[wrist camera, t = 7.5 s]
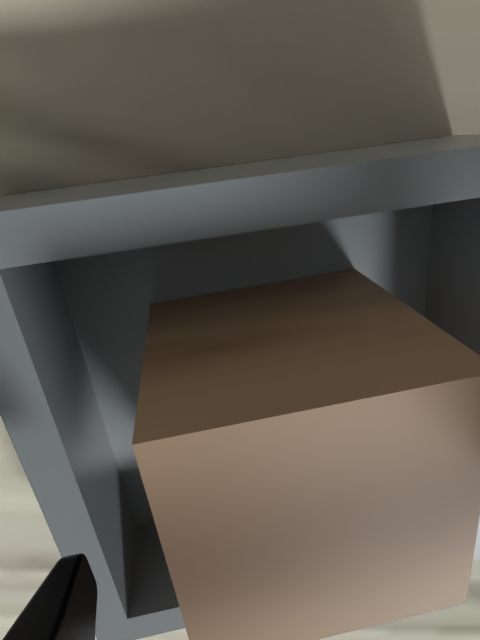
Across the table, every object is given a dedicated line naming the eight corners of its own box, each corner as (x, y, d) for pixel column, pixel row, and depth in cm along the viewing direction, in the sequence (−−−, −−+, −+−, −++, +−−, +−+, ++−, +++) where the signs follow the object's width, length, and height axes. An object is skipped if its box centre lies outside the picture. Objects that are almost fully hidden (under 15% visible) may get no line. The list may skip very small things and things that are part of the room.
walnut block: (356, 431, 15) (466, 602, 9) (187, 466, 14) (197, 669, 9) (354, 268, 12) (502, 371, 7) (150, 303, 12) (132, 445, 6)
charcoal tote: (425, 467, 17) (493, 555, 13) (117, 531, 16) (100, 647, 12) (454, 135, 12) (577, 132, 8) (3, 195, 11) (-83, 222, 7)
